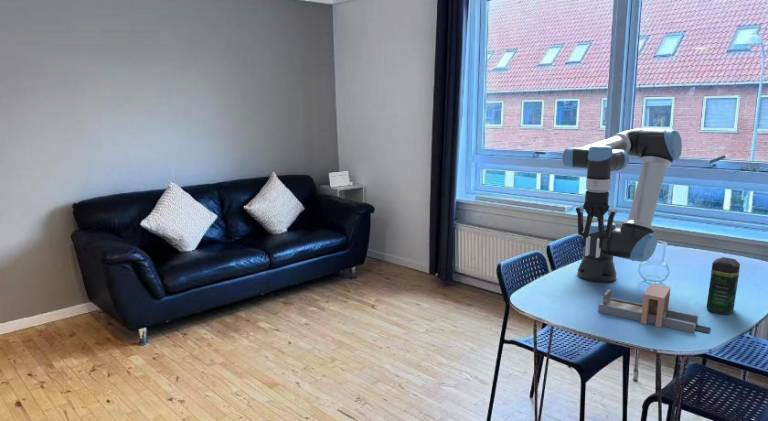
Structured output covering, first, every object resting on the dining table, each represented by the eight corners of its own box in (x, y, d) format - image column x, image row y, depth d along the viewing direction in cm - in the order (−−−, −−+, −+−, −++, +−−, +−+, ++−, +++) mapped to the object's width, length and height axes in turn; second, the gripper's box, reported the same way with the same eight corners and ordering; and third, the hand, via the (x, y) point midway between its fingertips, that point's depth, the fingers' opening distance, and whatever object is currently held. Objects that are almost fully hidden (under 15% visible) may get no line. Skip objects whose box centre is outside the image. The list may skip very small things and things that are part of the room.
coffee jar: (730, 317, 175) (737, 264, 172) (704, 311, 181) (710, 260, 177) (735, 308, 182) (742, 258, 179) (710, 303, 188) (716, 254, 184)
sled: (602, 308, 181) (603, 291, 180) (607, 302, 186) (608, 286, 185) (663, 321, 170) (664, 303, 169) (666, 315, 175) (668, 297, 174)
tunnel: (640, 323, 171) (643, 294, 169) (648, 311, 181) (651, 283, 179) (660, 327, 168) (664, 297, 166) (667, 315, 178) (670, 287, 175)
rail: (598, 311, 181) (598, 304, 180) (605, 303, 188) (605, 296, 187) (693, 332, 164) (694, 324, 163) (697, 323, 171) (698, 315, 170)
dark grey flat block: (694, 330, 166) (694, 329, 165) (696, 325, 169) (696, 324, 169) (709, 333, 163) (709, 332, 163) (710, 328, 167) (710, 327, 167)
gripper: (570, 190, 181) (566, 254, 185) (619, 194, 171) (613, 262, 176) (577, 187, 186) (572, 249, 191) (624, 191, 177) (619, 257, 182)
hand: (592, 255), depth 183 cm, fingers open, 3 cm apart
